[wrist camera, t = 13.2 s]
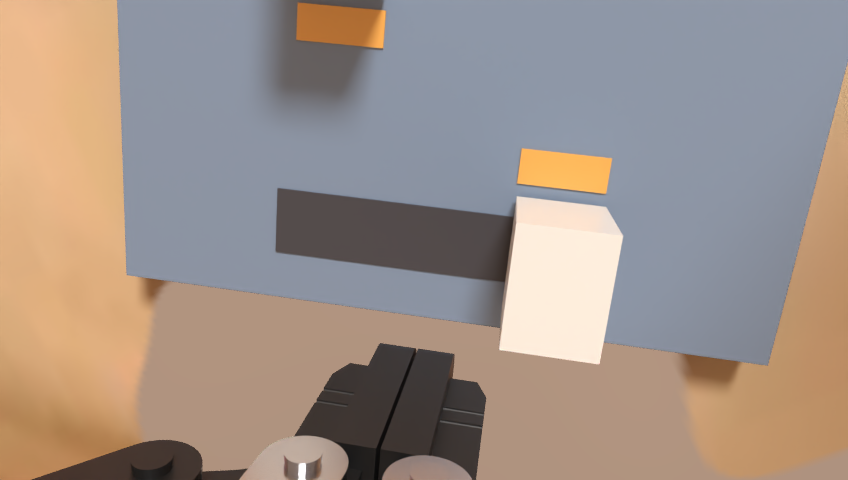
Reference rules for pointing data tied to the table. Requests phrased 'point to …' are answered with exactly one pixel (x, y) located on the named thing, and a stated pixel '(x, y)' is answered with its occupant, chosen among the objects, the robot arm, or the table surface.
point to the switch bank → (480, 150)
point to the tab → (559, 279)
